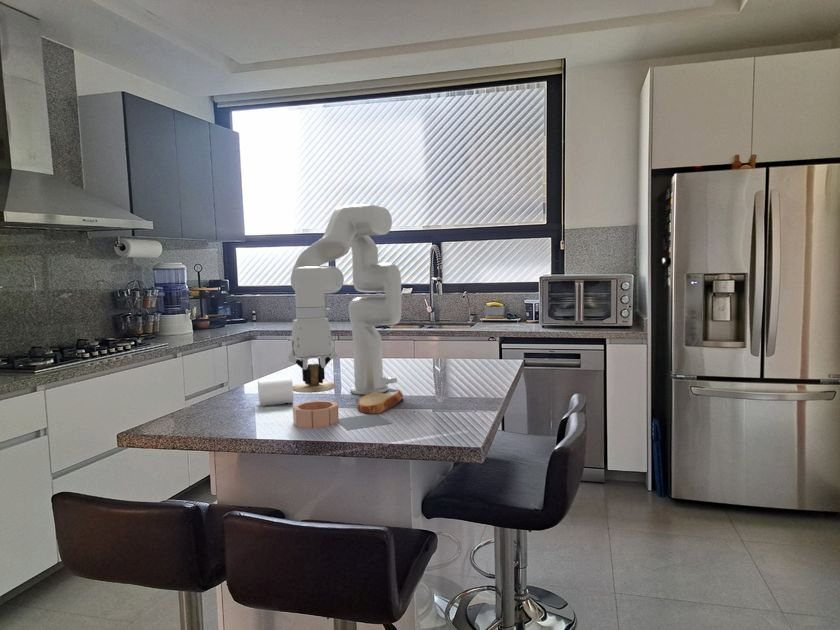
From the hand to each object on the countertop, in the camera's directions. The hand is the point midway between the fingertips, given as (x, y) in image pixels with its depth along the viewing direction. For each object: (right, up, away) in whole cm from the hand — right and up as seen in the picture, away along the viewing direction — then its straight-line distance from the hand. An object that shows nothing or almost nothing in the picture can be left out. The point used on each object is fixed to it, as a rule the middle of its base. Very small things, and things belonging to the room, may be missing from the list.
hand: (313, 382), depth 153 cm
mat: (+13, -11, 0) cm, 17 cm away
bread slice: (+17, -9, +18) cm, 26 cm away
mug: (-17, -10, +28) cm, 35 cm away
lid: (0, -2, 0) cm, 2 cm away
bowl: (0, -11, +1) cm, 11 cm away
